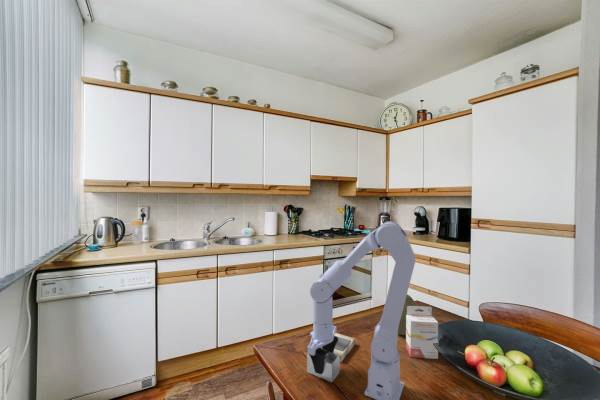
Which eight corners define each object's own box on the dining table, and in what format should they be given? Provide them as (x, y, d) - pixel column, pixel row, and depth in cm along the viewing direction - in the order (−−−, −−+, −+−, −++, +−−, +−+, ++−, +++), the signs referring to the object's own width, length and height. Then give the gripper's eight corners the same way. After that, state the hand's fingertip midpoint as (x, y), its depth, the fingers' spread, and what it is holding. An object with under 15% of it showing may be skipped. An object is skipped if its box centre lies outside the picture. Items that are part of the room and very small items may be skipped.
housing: (331, 382, 70) (331, 361, 70) (307, 372, 75) (307, 352, 75) (339, 372, 75) (339, 352, 75) (315, 363, 79) (315, 344, 79)
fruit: (383, 325, 103) (383, 288, 103) (411, 325, 102) (411, 288, 103) (392, 340, 91) (392, 298, 92) (424, 341, 91) (424, 298, 91)
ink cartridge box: (410, 358, 81) (410, 311, 81) (405, 349, 86) (405, 305, 86) (439, 359, 80) (438, 312, 81) (432, 350, 85) (431, 306, 86)
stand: (341, 362, 79) (340, 354, 79) (310, 351, 85) (310, 344, 85) (354, 344, 89) (354, 337, 89) (326, 335, 95) (326, 329, 95)
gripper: (322, 308, 83) (322, 350, 83) (297, 327, 71) (298, 376, 71) (342, 313, 79) (342, 357, 79) (320, 334, 67) (320, 386, 67)
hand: (323, 367), depth 75 cm, fingers closed on housing, 5 cm apart
